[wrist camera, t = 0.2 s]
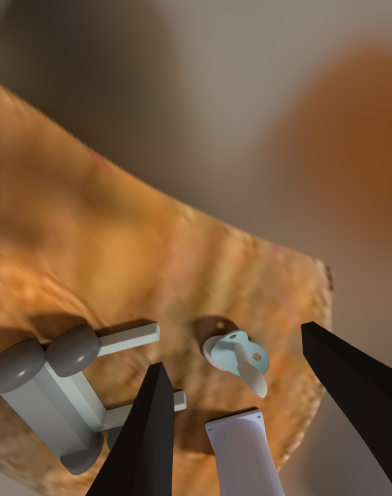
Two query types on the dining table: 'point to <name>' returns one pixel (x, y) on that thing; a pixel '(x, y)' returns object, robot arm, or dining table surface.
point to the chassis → (69, 391)
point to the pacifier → (239, 358)
